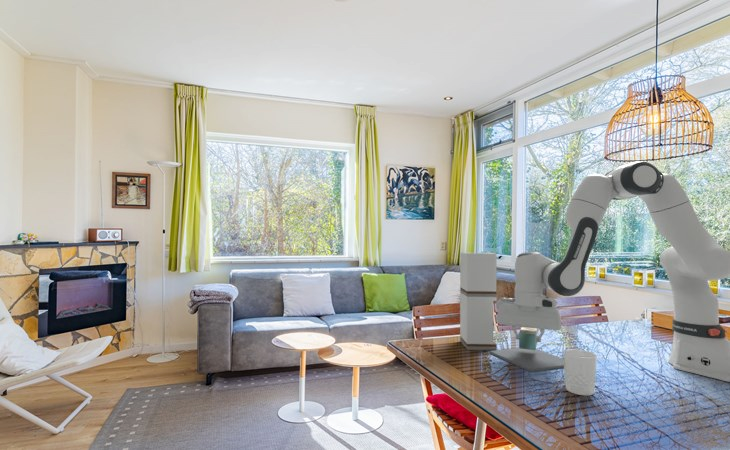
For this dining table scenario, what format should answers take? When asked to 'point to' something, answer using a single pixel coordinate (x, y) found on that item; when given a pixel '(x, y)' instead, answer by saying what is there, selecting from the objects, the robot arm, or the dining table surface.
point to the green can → (527, 338)
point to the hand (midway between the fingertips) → (528, 340)
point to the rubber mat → (530, 359)
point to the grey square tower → (477, 300)
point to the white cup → (580, 371)
